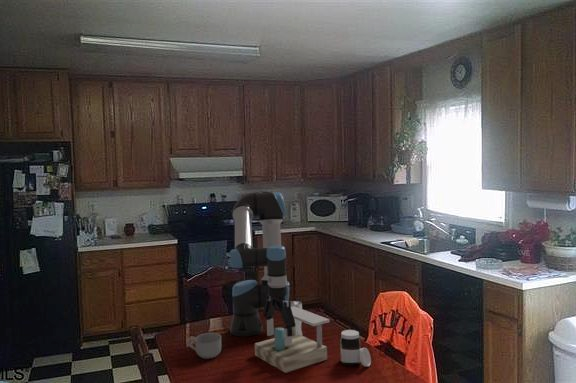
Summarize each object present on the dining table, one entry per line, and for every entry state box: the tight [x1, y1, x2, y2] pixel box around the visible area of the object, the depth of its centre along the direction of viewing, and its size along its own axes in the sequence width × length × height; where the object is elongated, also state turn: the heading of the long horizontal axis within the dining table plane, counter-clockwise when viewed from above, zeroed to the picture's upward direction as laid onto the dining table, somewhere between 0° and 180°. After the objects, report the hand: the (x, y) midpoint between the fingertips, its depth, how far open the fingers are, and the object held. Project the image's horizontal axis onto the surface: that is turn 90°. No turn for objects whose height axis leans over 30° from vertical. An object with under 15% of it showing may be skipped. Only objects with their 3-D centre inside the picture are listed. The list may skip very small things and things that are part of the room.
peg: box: [273, 327, 285, 352], centre depth 196 cm, size 4×4×12 cm
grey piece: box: [278, 306, 330, 348], centre depth 203 cm, size 24×8×11 cm, turn 35°
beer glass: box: [290, 300, 303, 336], centre depth 224 cm, size 7×7×15 cm
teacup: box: [187, 332, 222, 360], centre depth 204 cm, size 14×11×8 cm
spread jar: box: [339, 329, 372, 368], centre depth 191 cm, size 12×11×12 cm
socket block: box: [254, 333, 328, 373], centre depth 199 cm, size 22×20×5 cm
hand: (279, 339), depth 196 cm, fingers open, 12 cm apart
